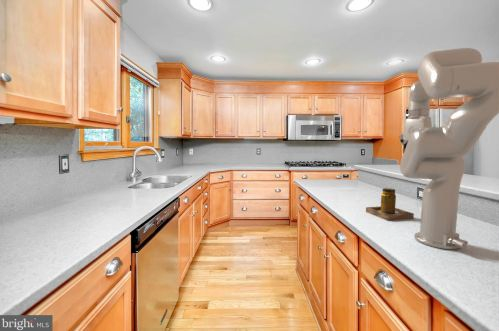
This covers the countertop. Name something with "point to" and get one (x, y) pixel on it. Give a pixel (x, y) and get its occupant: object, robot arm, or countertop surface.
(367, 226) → the countertop surface
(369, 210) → the walnut tray
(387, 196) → the condiment
